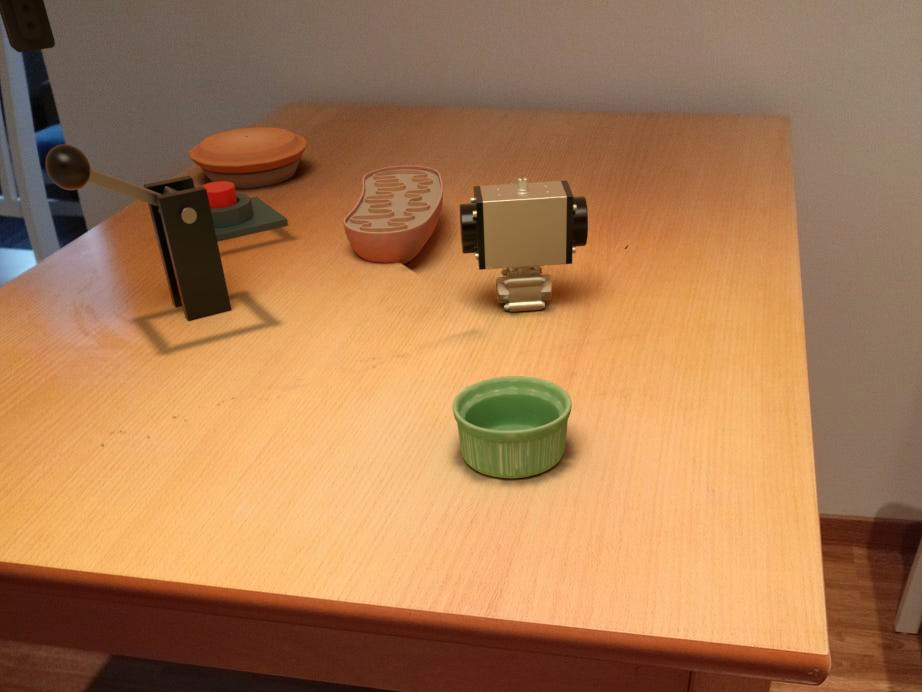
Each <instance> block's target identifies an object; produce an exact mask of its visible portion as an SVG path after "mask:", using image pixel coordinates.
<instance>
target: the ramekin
mask: <svg viewBox="0 0 922 692" xmlns="http://www.w3.org/2000/svg"><path fill="white" fill-rule="evenodd" d="M572 404H573V403H572V398H571V396H570V395H569V393H568V392H567V391H566V390H565V389H564V388H563V387H562V386H560V385H559V384H556V383H554V382H552V381H549V380H546V379H543V378H539V377H534V376H522V375H506V376H496V377H492V378H491V377H490V378H487V379H483V380H480V381H477V382H475V383H473V384H470V385H468V386H467V387H465V388H464V389H462V390H461V391H459V392H458V394H457V395H456V396H455V397H454V400H453V401H452V412H453V417H454V420H455V422H456V425H457V431H458V439H459V445H460V451H461V456H462V458H463V460H464V461H465V463H466V464H467V466H469V467H470V468H472V469H473V470H474V471H477V472H479V473H480V474H483V475H486V476H489V477H494V478H500V479H501V478H502V479H521V478H527V477H533V476H536V475H539V474H542V473H544V472H547V471H548V470H550V469H553V467H555V466H557V464H558V463H559V462H560V461H561V460H562V458H563V457H564V453H565V450H566V442H567V432H568V421H569V418H570V416H571V412H572V406H573V405H572Z"/></svg>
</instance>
